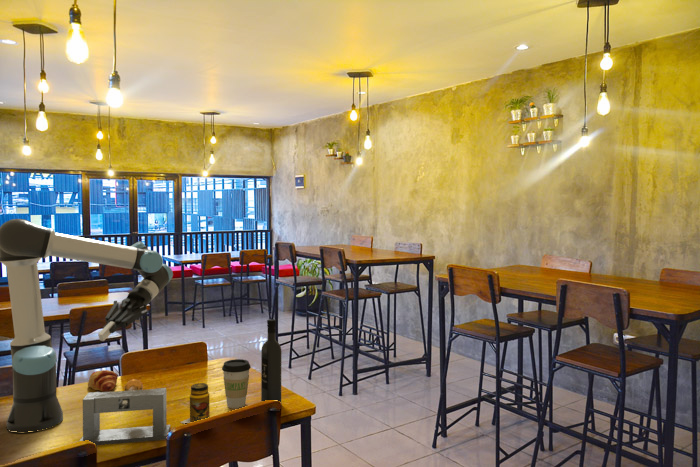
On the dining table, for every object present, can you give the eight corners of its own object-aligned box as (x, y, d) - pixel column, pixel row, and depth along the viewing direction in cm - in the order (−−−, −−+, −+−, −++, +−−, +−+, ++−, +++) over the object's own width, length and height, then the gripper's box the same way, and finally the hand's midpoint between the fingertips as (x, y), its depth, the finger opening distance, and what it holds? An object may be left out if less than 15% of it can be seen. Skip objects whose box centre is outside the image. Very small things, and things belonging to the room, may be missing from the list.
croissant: (88, 389, 202) (77, 373, 199) (111, 373, 208) (101, 358, 205) (103, 403, 186) (91, 386, 183) (128, 385, 192) (117, 369, 189)
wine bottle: (268, 408, 174) (268, 322, 173) (260, 404, 178) (260, 319, 177) (282, 405, 178) (282, 320, 177) (273, 400, 182) (274, 317, 181)
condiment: (199, 428, 158) (199, 390, 158) (179, 422, 162) (179, 385, 162) (215, 420, 164) (215, 383, 164) (196, 415, 168) (196, 379, 168)
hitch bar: (78, 446, 145) (77, 401, 144) (86, 435, 152) (85, 391, 152) (166, 439, 150) (166, 395, 149) (170, 428, 158) (170, 386, 157)
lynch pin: (115, 412, 148) (114, 395, 148) (125, 395, 162) (125, 379, 162) (133, 411, 149) (133, 393, 149) (142, 394, 163) (142, 378, 163)
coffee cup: (215, 407, 175) (215, 364, 175) (234, 398, 184) (234, 357, 184) (238, 412, 171) (238, 368, 170) (256, 403, 180) (256, 361, 179)
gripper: (124, 283, 183) (80, 325, 164) (157, 289, 181) (116, 332, 161) (128, 299, 187) (86, 342, 168) (160, 305, 185) (120, 349, 165)
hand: (100, 337), depth 164 cm, fingers closed
